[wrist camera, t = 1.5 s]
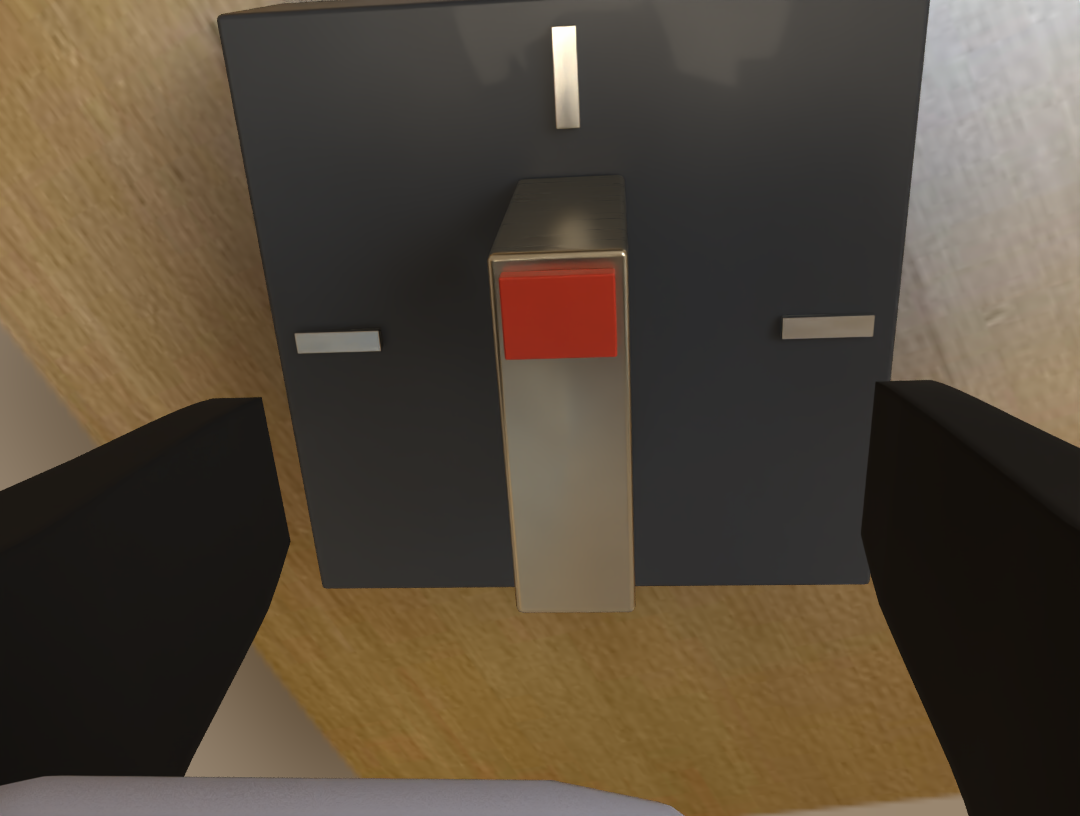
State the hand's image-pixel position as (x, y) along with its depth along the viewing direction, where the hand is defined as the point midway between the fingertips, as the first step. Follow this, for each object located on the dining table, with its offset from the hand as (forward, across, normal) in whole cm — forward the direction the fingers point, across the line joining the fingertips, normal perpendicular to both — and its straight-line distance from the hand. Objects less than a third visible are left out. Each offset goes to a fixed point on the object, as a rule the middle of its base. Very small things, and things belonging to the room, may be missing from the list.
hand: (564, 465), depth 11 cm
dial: (+4, 0, 0) cm, 4 cm away
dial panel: (+8, 0, 0) cm, 8 cm away
